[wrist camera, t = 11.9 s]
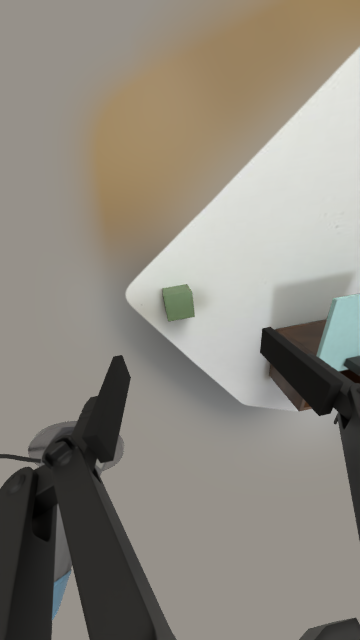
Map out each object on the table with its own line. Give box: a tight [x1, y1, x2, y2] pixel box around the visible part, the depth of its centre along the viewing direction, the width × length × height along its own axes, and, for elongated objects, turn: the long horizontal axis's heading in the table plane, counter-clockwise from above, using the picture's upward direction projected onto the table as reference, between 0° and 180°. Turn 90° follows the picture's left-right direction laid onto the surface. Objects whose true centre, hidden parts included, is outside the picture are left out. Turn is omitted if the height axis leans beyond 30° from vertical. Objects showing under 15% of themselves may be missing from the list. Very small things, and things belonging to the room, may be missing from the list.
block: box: [163, 284, 195, 321], centre depth 28 cm, size 4×4×4 cm
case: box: [269, 319, 360, 411], centre depth 35 cm, size 16×14×10 cm
